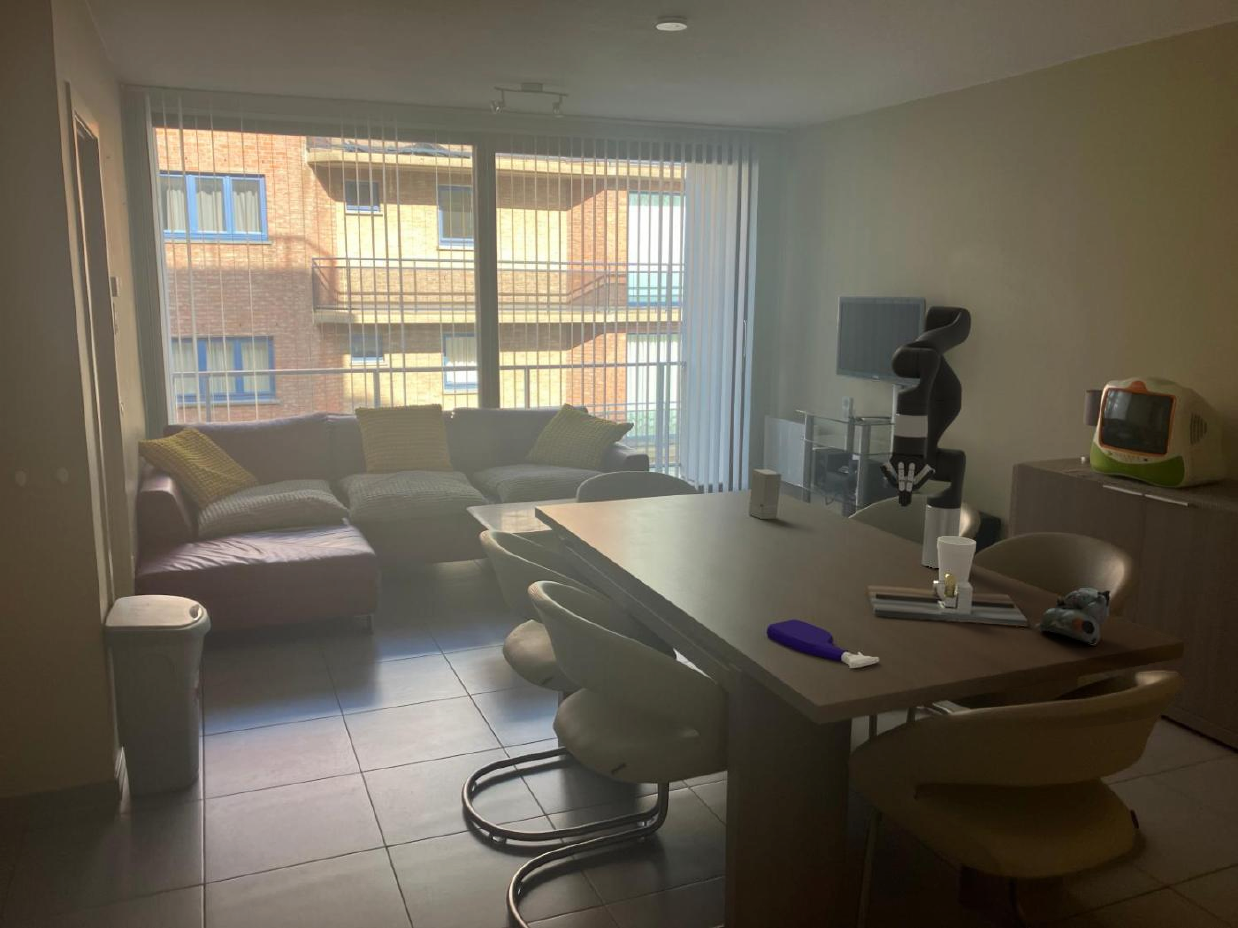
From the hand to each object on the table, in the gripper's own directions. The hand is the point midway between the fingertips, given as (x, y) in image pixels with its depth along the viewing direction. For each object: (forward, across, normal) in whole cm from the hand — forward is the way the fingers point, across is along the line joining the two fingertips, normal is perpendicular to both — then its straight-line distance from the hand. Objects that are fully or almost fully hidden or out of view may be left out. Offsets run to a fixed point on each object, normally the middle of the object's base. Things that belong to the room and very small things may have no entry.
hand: (904, 505), depth 235 cm
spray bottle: (+26, -9, -38) cm, 47 cm away
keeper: (+24, +13, 0) cm, 27 cm away
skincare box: (+25, -59, +83) cm, 105 cm away
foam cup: (+25, +10, +24) cm, 36 cm away
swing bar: (+22, +10, +5) cm, 25 cm away
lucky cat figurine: (+25, +38, -3) cm, 46 cm away
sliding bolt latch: (+25, +10, +5) cm, 27 cm away
